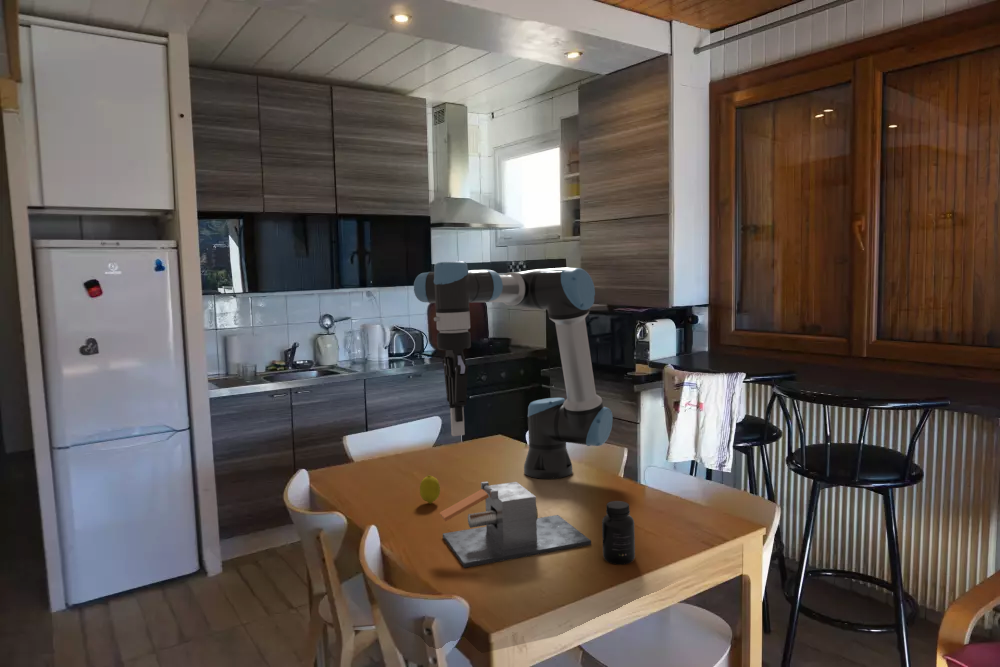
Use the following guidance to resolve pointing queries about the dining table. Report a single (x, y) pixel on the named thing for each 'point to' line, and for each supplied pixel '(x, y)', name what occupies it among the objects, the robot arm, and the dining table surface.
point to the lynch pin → (485, 518)
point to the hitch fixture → (513, 530)
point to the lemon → (429, 489)
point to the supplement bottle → (618, 534)
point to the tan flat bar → (465, 503)
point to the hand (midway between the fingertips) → (458, 434)
